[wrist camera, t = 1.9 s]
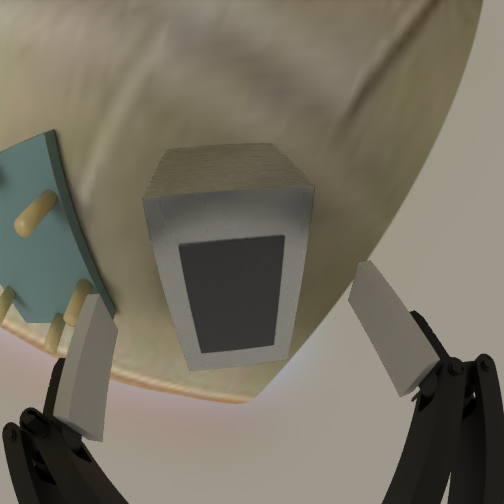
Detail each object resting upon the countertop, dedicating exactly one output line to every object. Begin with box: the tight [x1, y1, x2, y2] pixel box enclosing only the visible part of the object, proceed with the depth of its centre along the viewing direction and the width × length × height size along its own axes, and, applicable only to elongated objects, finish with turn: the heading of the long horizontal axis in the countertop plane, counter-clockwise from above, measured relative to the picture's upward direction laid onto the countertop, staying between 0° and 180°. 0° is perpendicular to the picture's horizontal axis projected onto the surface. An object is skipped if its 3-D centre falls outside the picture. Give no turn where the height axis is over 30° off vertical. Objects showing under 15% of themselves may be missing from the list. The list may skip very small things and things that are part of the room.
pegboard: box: [0, 129, 115, 354], centre depth 13 cm, size 15×10×5 cm
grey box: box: [142, 143, 315, 371], centre depth 15 cm, size 11×6×7 cm, turn 0°
